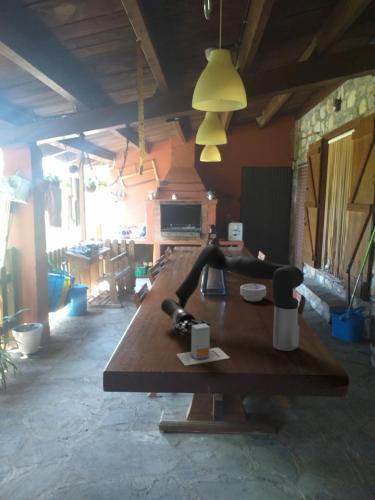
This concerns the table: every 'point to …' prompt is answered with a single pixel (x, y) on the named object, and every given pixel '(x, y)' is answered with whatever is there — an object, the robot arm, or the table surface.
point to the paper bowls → (253, 292)
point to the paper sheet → (213, 356)
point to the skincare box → (200, 341)
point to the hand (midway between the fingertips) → (197, 332)
